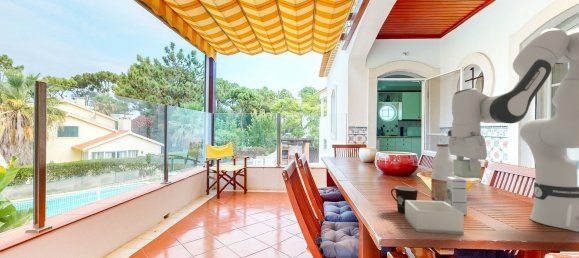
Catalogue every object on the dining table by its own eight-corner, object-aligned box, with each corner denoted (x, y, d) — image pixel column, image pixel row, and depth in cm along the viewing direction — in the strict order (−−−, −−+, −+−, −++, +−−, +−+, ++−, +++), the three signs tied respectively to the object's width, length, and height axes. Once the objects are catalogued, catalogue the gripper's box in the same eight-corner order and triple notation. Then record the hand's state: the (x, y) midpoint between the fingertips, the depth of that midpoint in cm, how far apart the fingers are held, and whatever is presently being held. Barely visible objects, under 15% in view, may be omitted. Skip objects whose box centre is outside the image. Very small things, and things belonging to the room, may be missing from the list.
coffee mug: (421, 216, 106) (421, 190, 107) (400, 215, 106) (400, 190, 107) (408, 207, 118) (408, 184, 118) (389, 207, 118) (389, 184, 118)
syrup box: (467, 215, 108) (467, 179, 108) (451, 214, 109) (451, 178, 109) (461, 211, 113) (461, 176, 113) (446, 210, 115) (446, 176, 115)
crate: (444, 220, 102) (444, 201, 102) (463, 234, 88) (463, 213, 88) (404, 218, 104) (405, 199, 104) (417, 231, 90) (417, 210, 90)
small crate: (471, 175, 102) (471, 159, 102) (481, 178, 96) (480, 161, 96) (453, 175, 103) (453, 159, 103) (461, 177, 97) (461, 161, 97)
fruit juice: (442, 208, 117) (442, 144, 117) (426, 203, 126) (426, 143, 126) (460, 207, 119) (460, 144, 119) (443, 202, 128) (443, 143, 128)
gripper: (492, 132, 89) (493, 173, 89) (462, 131, 109) (462, 165, 109) (471, 132, 90) (472, 173, 90) (445, 132, 110) (446, 165, 110)
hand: (466, 169), depth 100 cm, fingers closed on small crate, 6 cm apart
